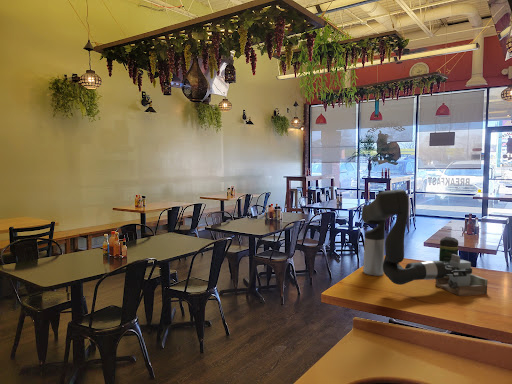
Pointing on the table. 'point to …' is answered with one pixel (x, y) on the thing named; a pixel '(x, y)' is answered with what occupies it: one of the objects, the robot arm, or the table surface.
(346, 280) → the table surface
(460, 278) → the grey upright block
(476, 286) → the tray
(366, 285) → the table surface
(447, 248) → the coffee jar
